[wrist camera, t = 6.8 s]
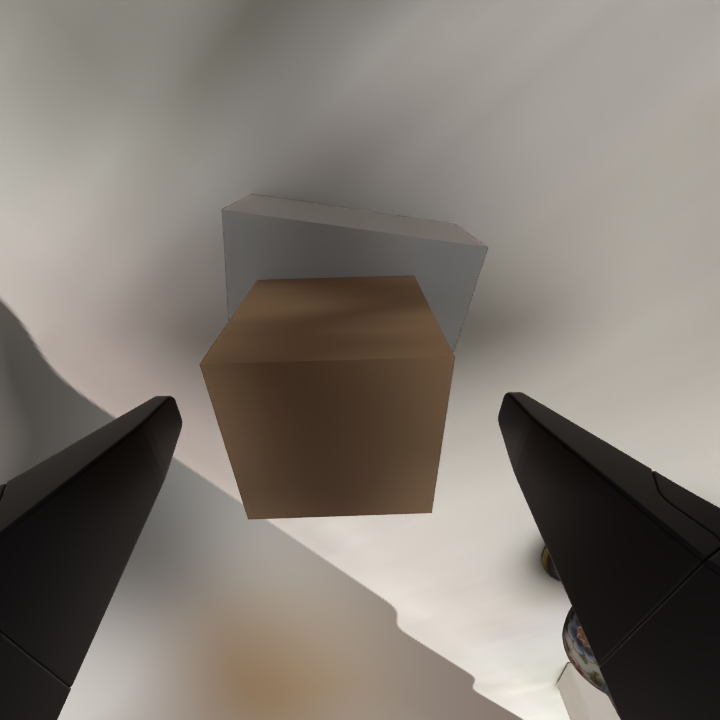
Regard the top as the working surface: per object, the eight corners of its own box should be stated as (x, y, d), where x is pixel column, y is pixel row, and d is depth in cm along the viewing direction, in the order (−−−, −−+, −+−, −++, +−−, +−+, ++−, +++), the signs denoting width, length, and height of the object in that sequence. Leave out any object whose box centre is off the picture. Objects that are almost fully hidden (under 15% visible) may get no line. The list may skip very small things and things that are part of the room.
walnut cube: (414, 275, 11) (454, 356, 7) (406, 398, 14) (431, 512, 9) (257, 279, 11) (199, 364, 7) (279, 402, 14) (248, 518, 9)
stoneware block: (453, 222, 14) (488, 247, 11) (411, 381, 18) (426, 435, 15) (253, 193, 13) (221, 209, 10) (256, 366, 17) (234, 420, 14)
